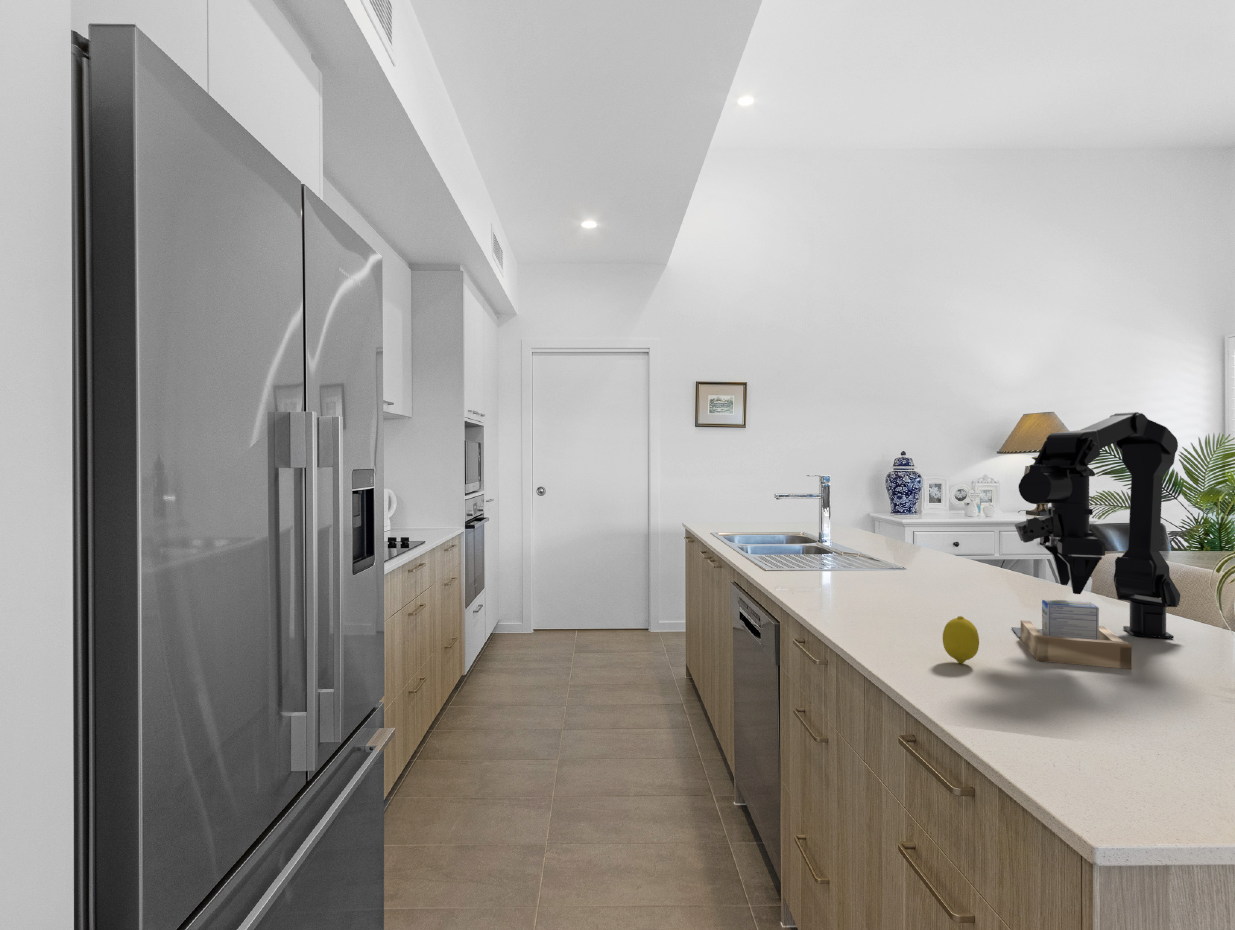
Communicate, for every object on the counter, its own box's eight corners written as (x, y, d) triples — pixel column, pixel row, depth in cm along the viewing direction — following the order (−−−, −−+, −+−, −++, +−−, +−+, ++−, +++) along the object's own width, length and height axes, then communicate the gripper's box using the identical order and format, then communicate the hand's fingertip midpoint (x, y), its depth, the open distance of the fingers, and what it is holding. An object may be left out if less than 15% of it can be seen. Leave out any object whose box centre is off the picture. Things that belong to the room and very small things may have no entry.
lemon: (983, 669, 113) (983, 620, 113) (947, 667, 115) (947, 619, 114) (973, 659, 119) (973, 613, 119) (938, 658, 120) (938, 611, 120)
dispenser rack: (1020, 638, 133) (1020, 617, 133) (1103, 644, 128) (1103, 623, 128) (1037, 660, 118) (1037, 637, 118) (1131, 668, 113) (1131, 644, 113)
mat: (1011, 628, 140) (1011, 627, 140) (1081, 633, 136) (1081, 632, 136) (1018, 638, 133) (1018, 636, 133) (1092, 643, 129) (1092, 642, 129)
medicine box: (1091, 649, 125) (1091, 601, 125) (1099, 656, 121) (1099, 606, 121) (1041, 645, 128) (1041, 598, 128) (1047, 652, 123) (1047, 603, 123)
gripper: (1010, 498, 136) (1010, 578, 136) (1028, 504, 118) (1028, 596, 118) (1076, 499, 132) (1076, 581, 132) (1106, 506, 114) (1106, 600, 114)
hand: (1070, 589), depth 124 cm, fingers open, 9 cm apart
